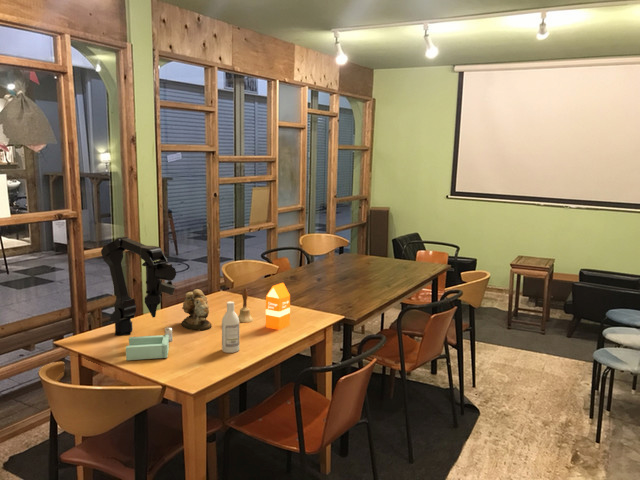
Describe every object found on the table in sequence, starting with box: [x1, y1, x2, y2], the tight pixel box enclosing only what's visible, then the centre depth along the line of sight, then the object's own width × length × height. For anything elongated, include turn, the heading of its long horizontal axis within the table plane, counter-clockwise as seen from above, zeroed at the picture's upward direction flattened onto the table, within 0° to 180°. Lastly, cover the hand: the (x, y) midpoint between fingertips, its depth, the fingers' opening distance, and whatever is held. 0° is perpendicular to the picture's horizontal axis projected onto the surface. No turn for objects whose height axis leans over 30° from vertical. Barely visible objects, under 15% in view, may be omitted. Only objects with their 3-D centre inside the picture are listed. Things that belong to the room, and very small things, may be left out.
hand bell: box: [237, 287, 254, 323], centre depth 251 cm, size 8×8×16 cm
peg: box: [164, 326, 173, 343], centre depth 221 cm, size 3×3×6 cm
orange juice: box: [265, 282, 291, 331], centre depth 243 cm, size 8×9×20 cm
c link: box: [125, 334, 170, 361], centre depth 206 cm, size 15×12×5 cm
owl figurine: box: [181, 288, 213, 332], centre depth 242 cm, size 18×12×17 cm, turn 48°
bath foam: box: [221, 301, 240, 354], centre depth 211 cm, size 7×7×20 cm
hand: (154, 314), depth 219 cm, fingers open, 9 cm apart
